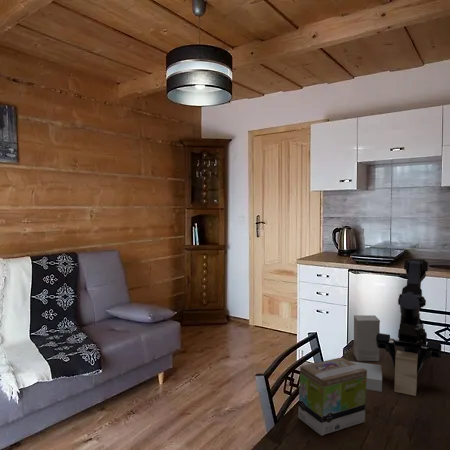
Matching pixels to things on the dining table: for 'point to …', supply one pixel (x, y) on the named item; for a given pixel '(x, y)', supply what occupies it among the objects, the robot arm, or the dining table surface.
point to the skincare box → (366, 337)
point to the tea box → (332, 395)
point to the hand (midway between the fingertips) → (406, 370)
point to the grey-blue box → (372, 376)
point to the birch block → (406, 372)
